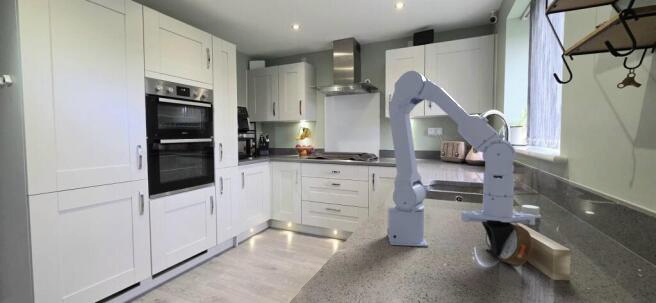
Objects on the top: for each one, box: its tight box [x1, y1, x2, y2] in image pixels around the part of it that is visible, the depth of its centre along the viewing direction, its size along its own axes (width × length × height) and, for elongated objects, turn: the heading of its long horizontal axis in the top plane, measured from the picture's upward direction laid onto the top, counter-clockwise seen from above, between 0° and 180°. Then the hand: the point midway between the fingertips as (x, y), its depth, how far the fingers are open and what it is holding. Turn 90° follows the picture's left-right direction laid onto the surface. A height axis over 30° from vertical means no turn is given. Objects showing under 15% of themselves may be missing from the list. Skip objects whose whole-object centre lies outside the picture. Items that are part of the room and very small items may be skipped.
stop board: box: [517, 223, 572, 281], centre depth 63 cm, size 3×24×6 cm, turn 173°
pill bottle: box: [519, 204, 542, 234], centre depth 74 cm, size 5×5×8 cm
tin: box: [485, 223, 532, 268], centre depth 60 cm, size 15×3×8 cm, turn 168°
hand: (495, 253), depth 60 cm, fingers closed, pressing on tin
